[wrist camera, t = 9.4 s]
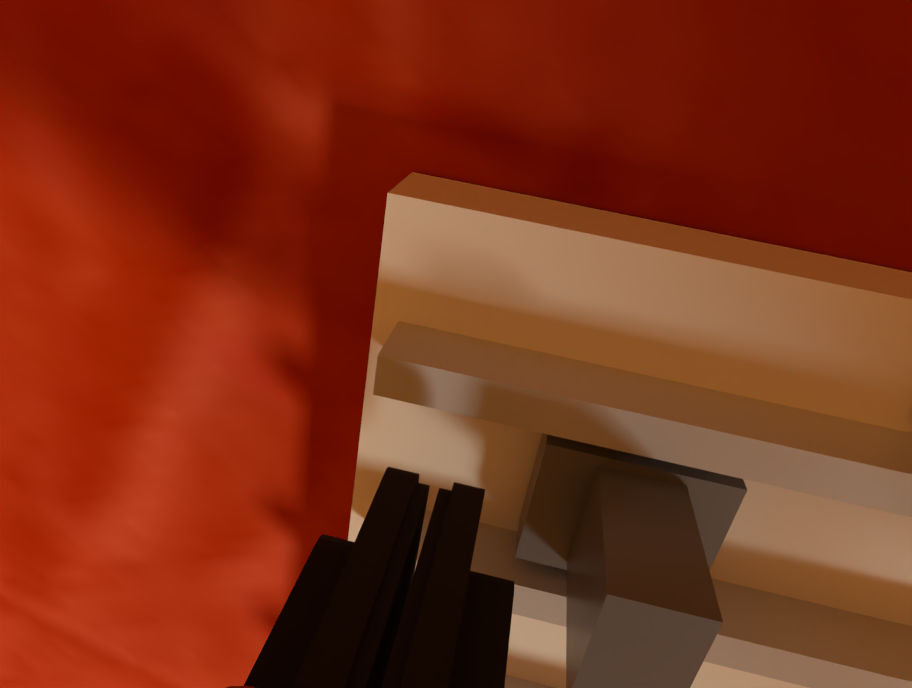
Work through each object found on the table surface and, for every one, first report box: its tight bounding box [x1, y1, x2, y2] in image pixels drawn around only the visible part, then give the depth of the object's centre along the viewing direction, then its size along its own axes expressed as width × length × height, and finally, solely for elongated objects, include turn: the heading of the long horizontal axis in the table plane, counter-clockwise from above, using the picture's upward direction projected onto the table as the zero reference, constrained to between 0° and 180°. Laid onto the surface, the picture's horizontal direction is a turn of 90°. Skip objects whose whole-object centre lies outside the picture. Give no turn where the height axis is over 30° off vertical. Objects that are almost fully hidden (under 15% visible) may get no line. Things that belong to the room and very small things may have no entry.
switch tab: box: [515, 433, 747, 688], centre depth 11 cm, size 4×3×4 cm
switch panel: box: [348, 172, 912, 688], centre depth 15 cm, size 17×19×4 cm
